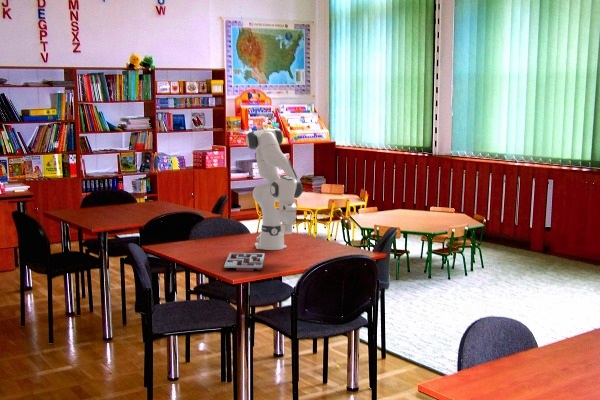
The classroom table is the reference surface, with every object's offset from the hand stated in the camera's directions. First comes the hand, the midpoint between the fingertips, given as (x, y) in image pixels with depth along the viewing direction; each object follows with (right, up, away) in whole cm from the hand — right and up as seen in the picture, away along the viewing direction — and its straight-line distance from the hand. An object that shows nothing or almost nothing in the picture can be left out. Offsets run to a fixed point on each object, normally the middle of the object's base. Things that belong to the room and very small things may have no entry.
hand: (286, 230), depth 399 cm
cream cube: (0, -2, 0) cm, 2 cm away
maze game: (-22, -18, -11) cm, 31 cm away
